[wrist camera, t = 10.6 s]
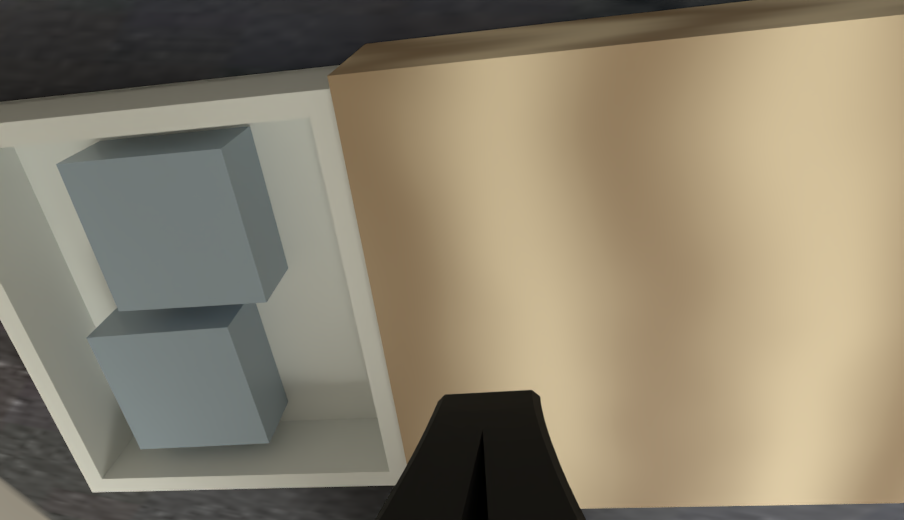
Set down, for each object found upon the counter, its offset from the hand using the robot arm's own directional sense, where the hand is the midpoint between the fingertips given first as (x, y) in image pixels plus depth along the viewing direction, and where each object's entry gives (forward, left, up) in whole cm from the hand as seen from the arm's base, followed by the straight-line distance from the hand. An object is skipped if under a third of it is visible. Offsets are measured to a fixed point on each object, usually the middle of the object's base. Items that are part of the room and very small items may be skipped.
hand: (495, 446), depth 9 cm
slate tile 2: (-11, +4, -8) cm, 14 cm away
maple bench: (+1, -4, -10) cm, 11 cm away
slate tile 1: (-6, +7, -8) cm, 12 cm away
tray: (-8, +5, -10) cm, 14 cm away
